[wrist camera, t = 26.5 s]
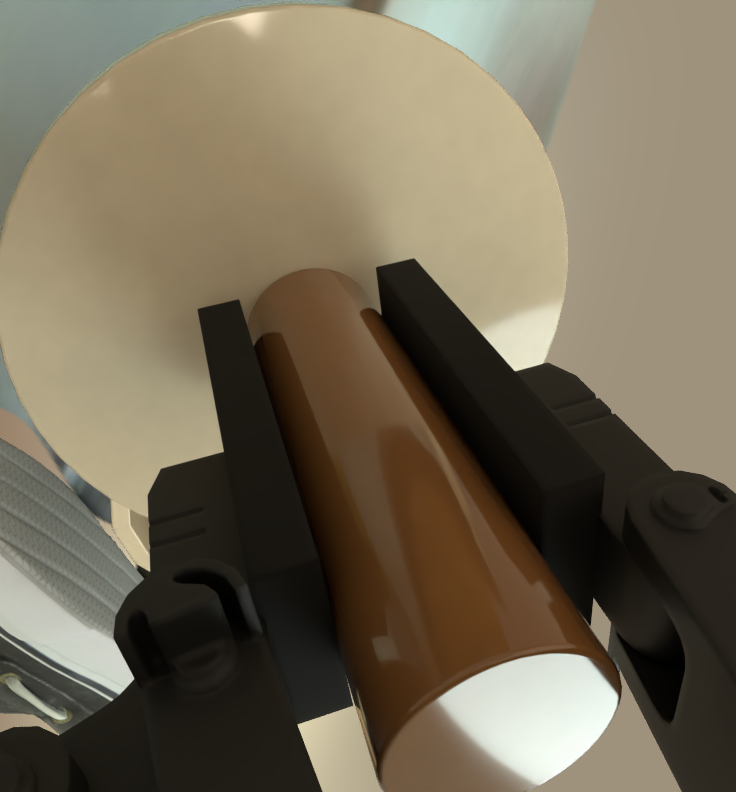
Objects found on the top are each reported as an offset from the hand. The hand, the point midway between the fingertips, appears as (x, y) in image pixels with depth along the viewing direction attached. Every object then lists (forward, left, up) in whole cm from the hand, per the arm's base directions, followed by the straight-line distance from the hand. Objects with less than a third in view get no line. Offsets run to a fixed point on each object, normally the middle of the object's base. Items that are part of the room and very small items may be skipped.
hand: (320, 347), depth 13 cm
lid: (0, 0, -1) cm, 1 cm away
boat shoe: (+15, -20, -18) cm, 31 cm away
